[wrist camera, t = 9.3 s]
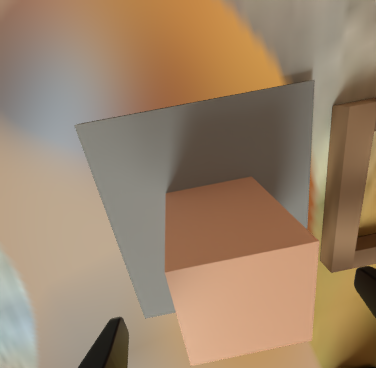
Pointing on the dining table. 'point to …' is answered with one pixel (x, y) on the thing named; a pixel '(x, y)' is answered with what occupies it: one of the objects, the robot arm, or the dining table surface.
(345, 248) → the holder
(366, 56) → the dining table surface
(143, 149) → the mat
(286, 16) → the dining table surface
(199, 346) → the block
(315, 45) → the dining table surface
